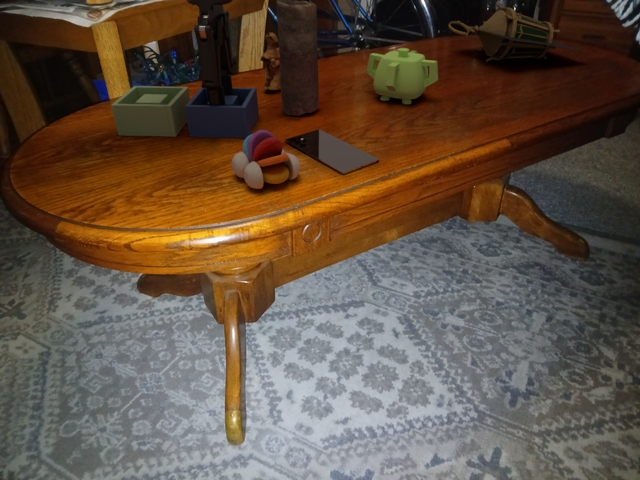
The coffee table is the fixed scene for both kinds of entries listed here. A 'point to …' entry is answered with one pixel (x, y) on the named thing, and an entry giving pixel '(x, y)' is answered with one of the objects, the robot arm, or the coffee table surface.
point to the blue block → (230, 101)
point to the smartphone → (331, 151)
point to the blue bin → (222, 115)
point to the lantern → (513, 35)
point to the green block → (154, 99)
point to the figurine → (271, 64)
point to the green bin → (151, 112)
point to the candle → (298, 56)
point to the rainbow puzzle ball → (264, 161)
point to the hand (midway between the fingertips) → (223, 116)
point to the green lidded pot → (401, 74)
